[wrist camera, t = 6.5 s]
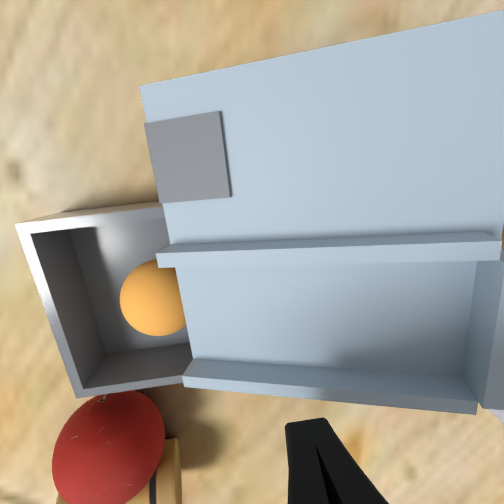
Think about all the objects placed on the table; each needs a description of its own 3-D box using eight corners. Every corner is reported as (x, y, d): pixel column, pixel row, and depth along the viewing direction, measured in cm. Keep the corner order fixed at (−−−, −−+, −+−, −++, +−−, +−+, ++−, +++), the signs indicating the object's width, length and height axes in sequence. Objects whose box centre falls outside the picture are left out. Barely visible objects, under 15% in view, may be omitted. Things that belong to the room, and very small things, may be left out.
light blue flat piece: (517, 17, 8) (586, -33, 6) (468, 378, 12) (500, 426, 10) (151, 90, 11) (110, 74, 9) (201, 360, 15) (181, 393, 13)
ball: (154, 248, 17) (208, 250, 15) (167, 307, 18) (218, 316, 16) (92, 272, 14) (152, 279, 12) (113, 343, 15) (170, 360, 13)
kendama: (209, 519, 26) (187, 373, 18) (187, 635, 20) (143, 489, 12) (127, 509, 26) (74, 365, 19) (83, 618, 21) (-17, 471, 13)
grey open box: (229, 192, 16) (230, 198, 13) (248, 336, 19) (252, 372, 16) (60, 212, 16) (14, 223, 12) (103, 356, 18) (76, 398, 15)
